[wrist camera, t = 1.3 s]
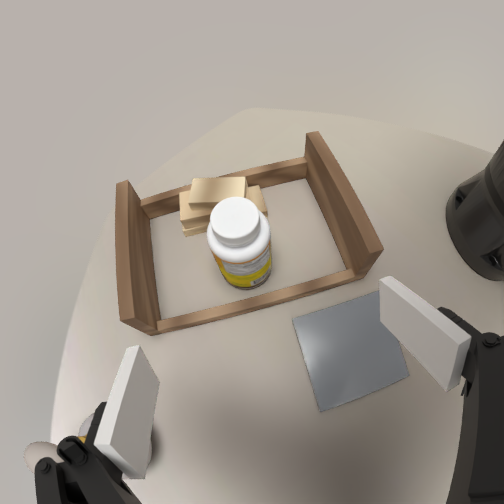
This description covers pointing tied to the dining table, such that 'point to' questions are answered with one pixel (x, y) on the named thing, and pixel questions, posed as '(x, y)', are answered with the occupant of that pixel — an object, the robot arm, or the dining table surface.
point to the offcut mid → (195, 212)
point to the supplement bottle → (240, 242)
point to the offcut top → (215, 191)
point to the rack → (310, 167)
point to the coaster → (349, 351)
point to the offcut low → (254, 197)
